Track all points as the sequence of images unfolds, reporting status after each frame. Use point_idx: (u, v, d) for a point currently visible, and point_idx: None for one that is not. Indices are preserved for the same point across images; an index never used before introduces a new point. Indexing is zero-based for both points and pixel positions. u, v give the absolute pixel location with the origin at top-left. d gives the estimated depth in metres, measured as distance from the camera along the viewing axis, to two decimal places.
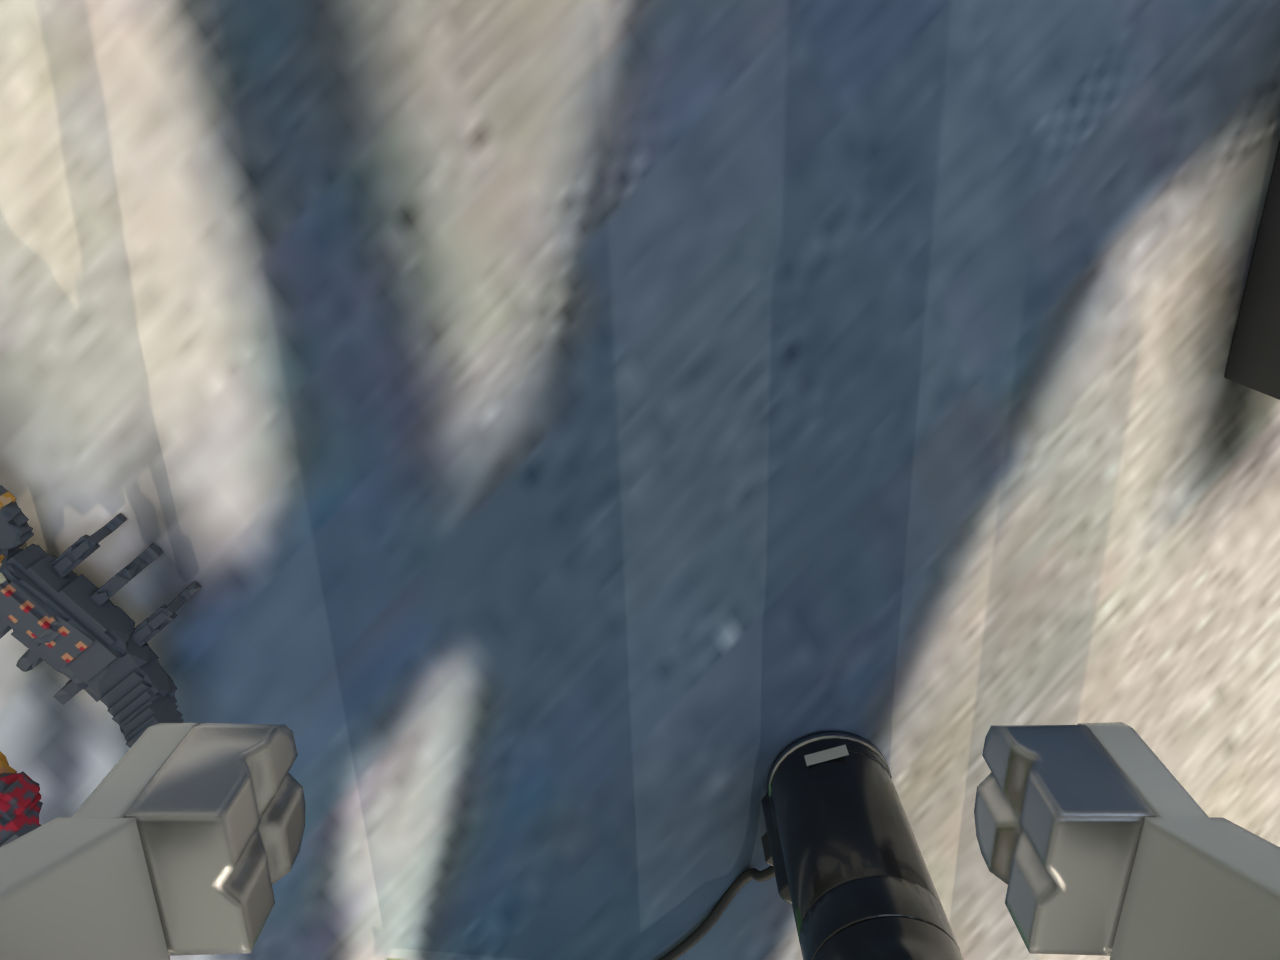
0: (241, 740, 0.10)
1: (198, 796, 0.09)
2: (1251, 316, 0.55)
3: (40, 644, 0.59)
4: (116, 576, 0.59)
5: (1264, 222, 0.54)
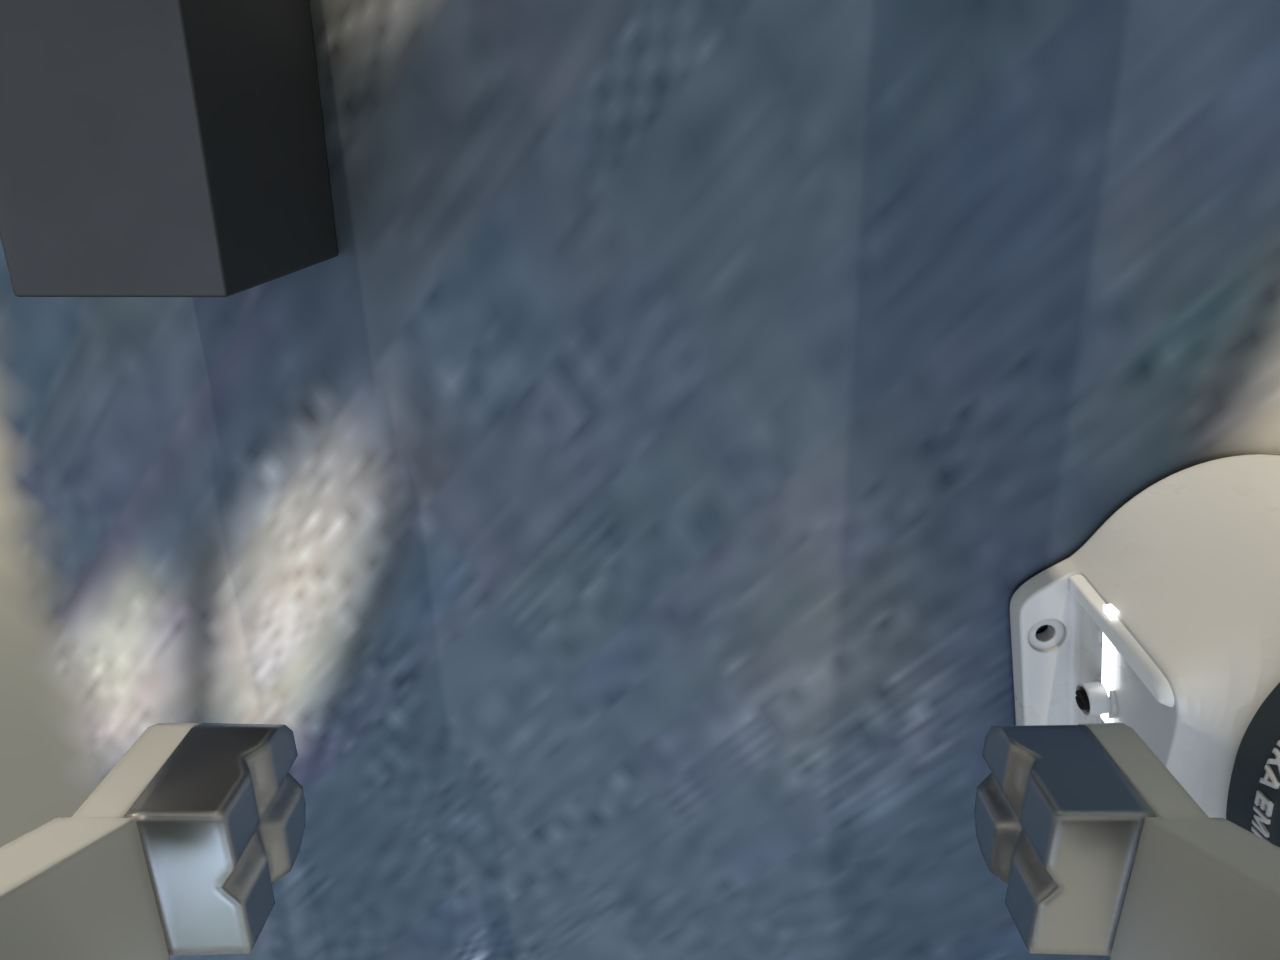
0: (241, 740, 0.10)
1: (198, 796, 0.09)
2: None
3: None
4: None
5: None
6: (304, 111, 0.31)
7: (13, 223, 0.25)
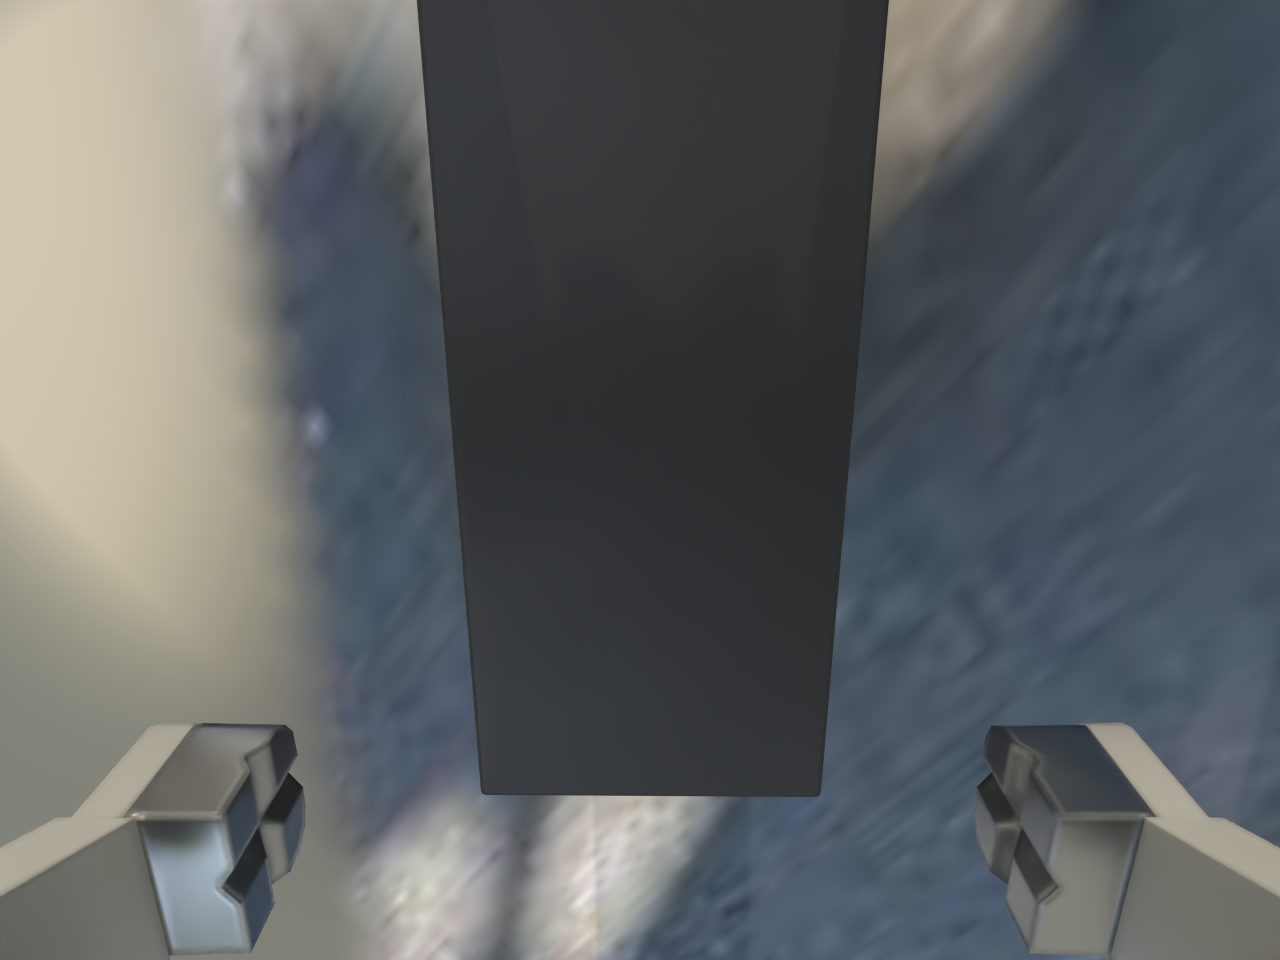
0: (241, 740, 0.10)
1: (198, 796, 0.09)
2: None
3: None
4: None
5: None
6: None
7: (501, 701, 0.15)
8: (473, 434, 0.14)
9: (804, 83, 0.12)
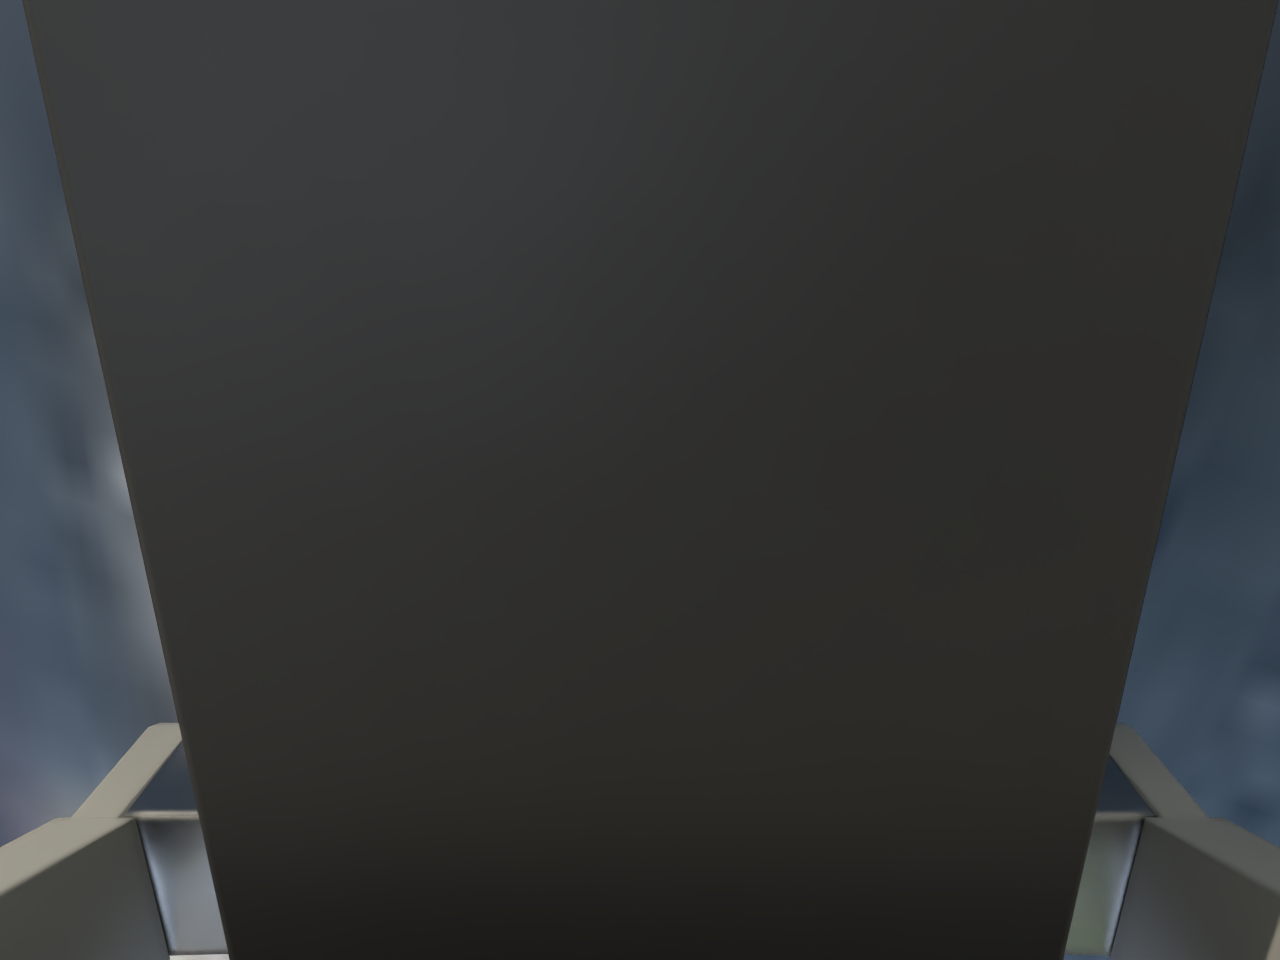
0: None
1: None
2: None
3: None
4: None
5: None
6: None
7: None
8: (250, 849, 0.06)
9: (1064, 61, 0.04)
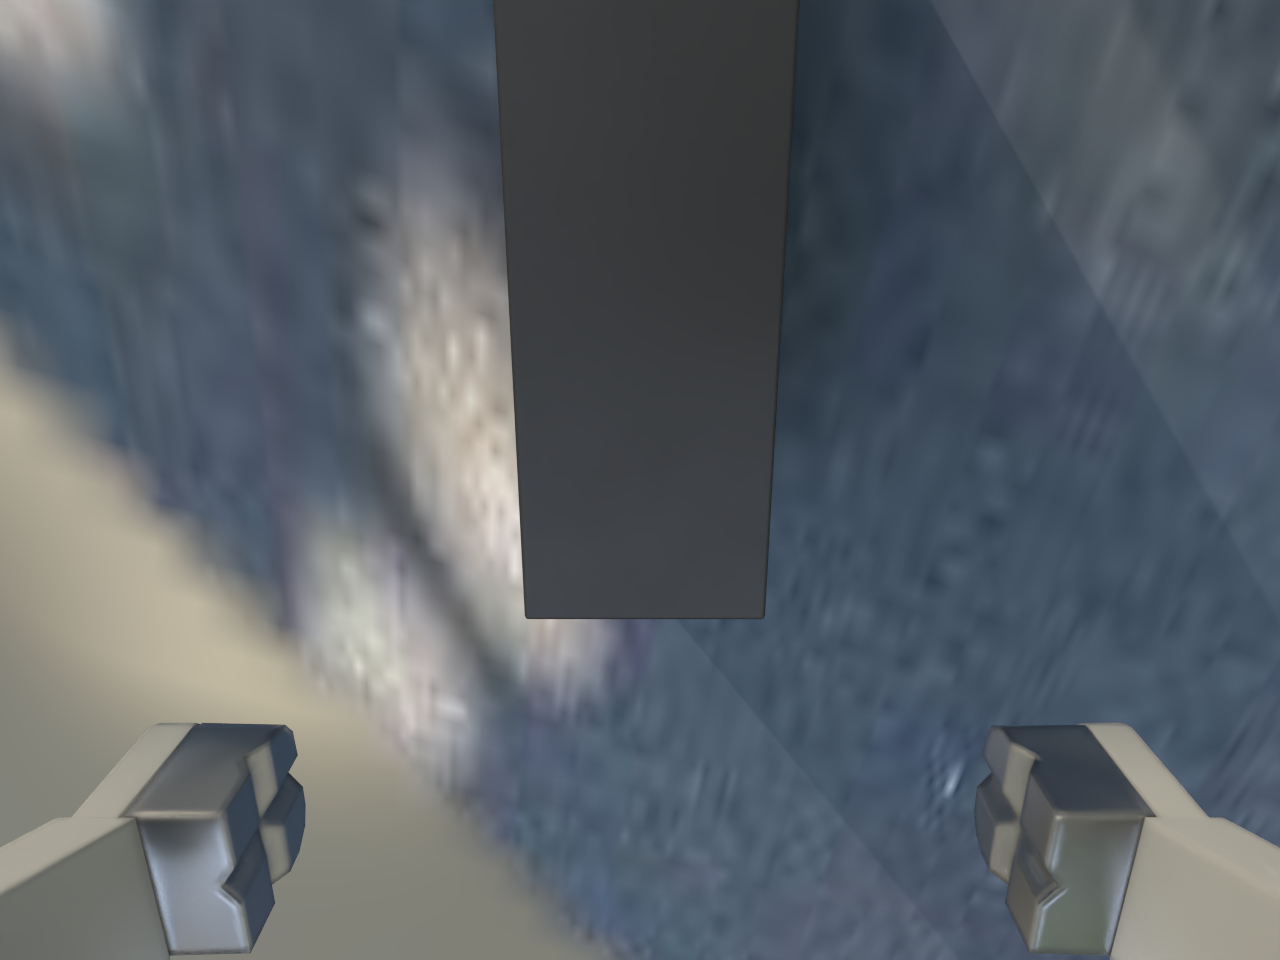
0: (241, 740, 0.10)
1: (198, 796, 0.09)
2: None
3: None
4: None
5: None
6: None
7: (541, 547, 0.22)
8: (526, 355, 0.20)
9: (743, 123, 0.18)
